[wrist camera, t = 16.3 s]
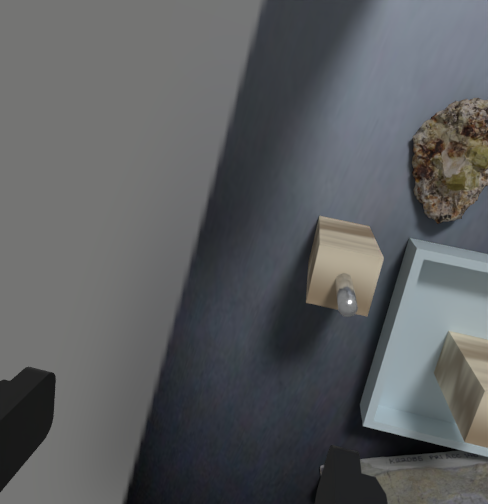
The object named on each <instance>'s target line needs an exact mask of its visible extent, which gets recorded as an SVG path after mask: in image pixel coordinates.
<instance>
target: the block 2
mask: <svg viewBox="0 0 488 504" xmlns="http://www.w3.org/2000/svg"><path fill="white" fill-rule="evenodd" d="M434 375H435V377H436V379H437V382H438V384H439V386H440V388H441V391H442V393H443V395H444V397H445V400H446V402H447V404H448V406H449V409H450V411H451V413H452V415H453V418H454V420H455V422H456V424H457V426H458V429H459V431H460V433H461V435H462V438H463V440H464V442H466V443H470V444H474V445H478V446H482V447H486V448H488V340H487V339H483V338H478V337H474V336H470V335H465V334H461V333H456V332H452V331H448V334H447V336H446V339H445V342H444V345H443V348H442V351H441V353H440V356H439V359H438V362H437V365H436V368H435V371H434Z"/></svg>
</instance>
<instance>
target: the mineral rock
mask: <svg viewBox="0 0 488 504" xmlns="http://www.w3.org/2000/svg"><path fill="white" fill-rule="evenodd" d="M412 140H413V141H414V147H413V152H414V156H413V161H412V164H413V167H414V169H413V172H412V174H413V176H414V178H415V187H414V190H413V191H414V194H415V196H416V197H417V199H418V200H419V202H420V203H422V204H423V208H424V210H425V212H424V213H425V214H426V215H427V216H428V217H429V218H433V219H434V220H435V221H436V222H437V224H439V223H441V222H443V221H445V222H448V221H454V220H456V219H462V215H463V214H464V212H465V211H466V210H467V208H468V207H469V206H470V205H472V204H473V203H474V202H475V201H477V199H478V196H479V194H480V193H481V191H482V190H483V188H484V187H485V186H487V185H488V100H485V101H484V100H481V99H480V98H473V99H471V100H468V99H465V100H462V101H460V102H458V101H455V102H453V103H451V104H449V105H448V107H447V108H446V109H445V110H443V111H439V112H437V113H436V114H435V115H434V116H433V117H431V119H430V120H427V121H426V122H424V123H423V125H422V126H421V127H420V130H418V131H417V133H416V135H414V136H413V139H412Z"/></svg>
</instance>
